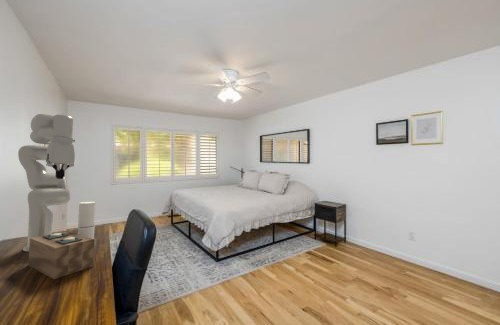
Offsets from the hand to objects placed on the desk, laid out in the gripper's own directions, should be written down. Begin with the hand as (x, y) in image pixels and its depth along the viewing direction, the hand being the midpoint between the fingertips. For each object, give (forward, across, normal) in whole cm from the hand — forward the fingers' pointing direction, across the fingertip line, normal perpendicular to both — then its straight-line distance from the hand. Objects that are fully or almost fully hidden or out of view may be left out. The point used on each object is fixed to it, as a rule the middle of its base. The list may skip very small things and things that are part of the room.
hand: (59, 178), depth 109 cm
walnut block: (+38, +3, +13) cm, 40 cm away
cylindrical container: (+38, -13, 0) cm, 41 cm away
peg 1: (+37, +3, +7) cm, 38 cm away
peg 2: (+37, +3, +19) cm, 41 cm away
